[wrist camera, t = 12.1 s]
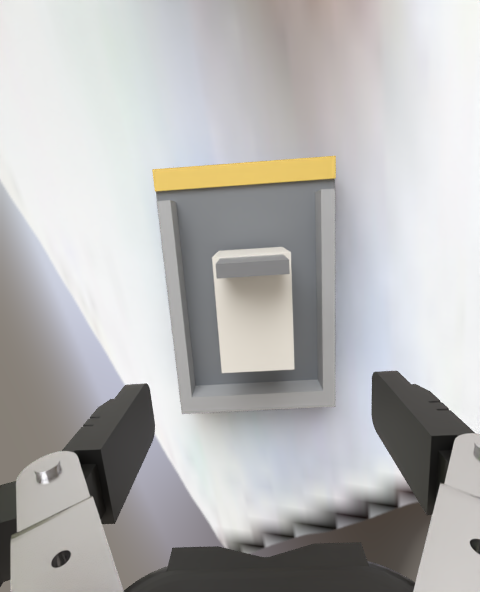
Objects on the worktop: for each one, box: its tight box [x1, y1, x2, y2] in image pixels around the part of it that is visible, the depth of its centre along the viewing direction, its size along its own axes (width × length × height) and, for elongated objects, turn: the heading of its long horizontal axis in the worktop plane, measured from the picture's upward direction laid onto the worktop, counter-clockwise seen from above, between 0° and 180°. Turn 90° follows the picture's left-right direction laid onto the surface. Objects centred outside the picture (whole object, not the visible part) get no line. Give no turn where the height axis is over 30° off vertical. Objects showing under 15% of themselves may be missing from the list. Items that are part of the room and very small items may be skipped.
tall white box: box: [212, 247, 294, 373], centre depth 23 cm, size 5×8×9 cm, turn 4°
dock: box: [152, 156, 336, 414], centre depth 27 cm, size 20×14×5 cm
